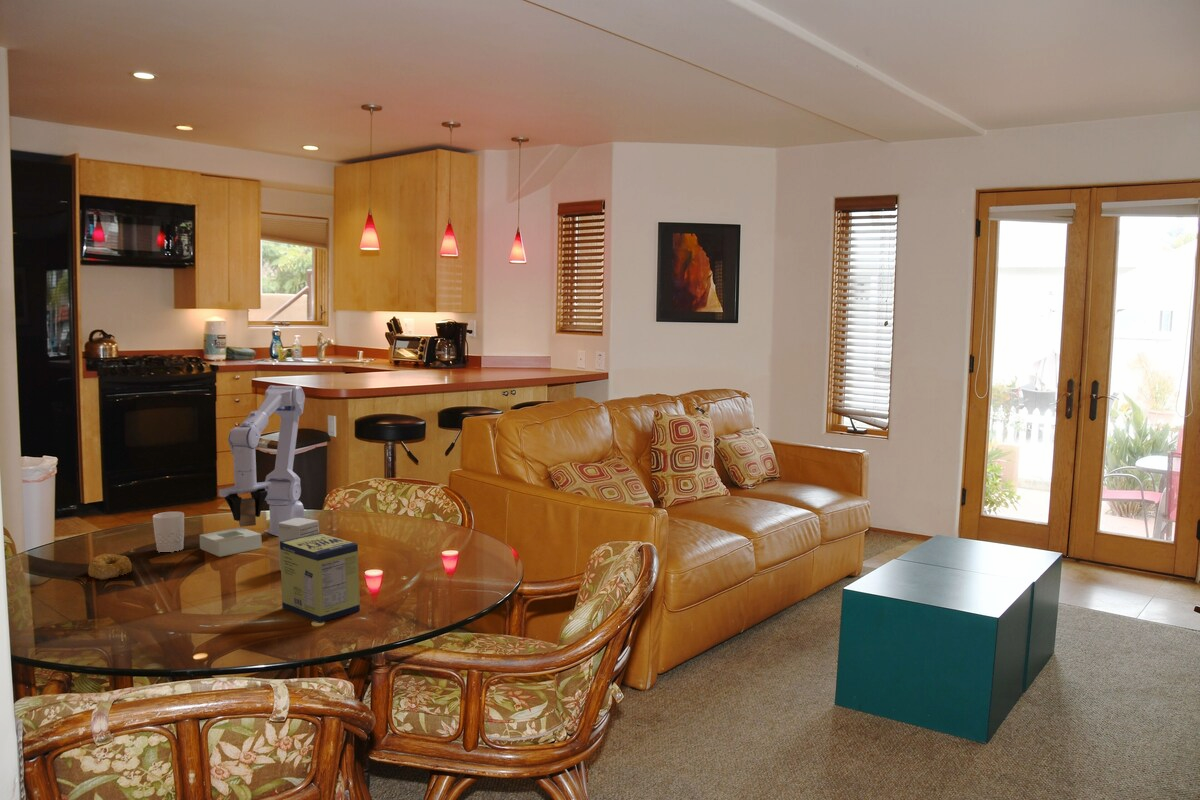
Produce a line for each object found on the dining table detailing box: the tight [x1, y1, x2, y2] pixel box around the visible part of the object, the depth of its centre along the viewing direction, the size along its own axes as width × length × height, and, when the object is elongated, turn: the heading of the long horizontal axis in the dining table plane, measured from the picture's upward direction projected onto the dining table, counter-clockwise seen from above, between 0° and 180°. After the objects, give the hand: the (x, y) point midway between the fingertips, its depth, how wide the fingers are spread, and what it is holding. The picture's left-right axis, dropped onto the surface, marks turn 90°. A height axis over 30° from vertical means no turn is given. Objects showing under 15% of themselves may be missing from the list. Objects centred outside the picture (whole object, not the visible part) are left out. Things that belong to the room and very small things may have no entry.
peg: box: [238, 497, 257, 528], centre depth 250 cm, size 4×4×7 cm
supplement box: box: [278, 517, 320, 571], centre depth 232 cm, size 7×7×13 cm
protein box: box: [280, 532, 361, 624], centre depth 201 cm, size 10×16×16 cm
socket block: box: [199, 526, 263, 558], centre depth 252 cm, size 12×12×4 cm
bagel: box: [87, 553, 133, 581], centre depth 228 cm, size 10×11×5 cm
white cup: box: [152, 511, 185, 553], centre depth 250 cm, size 8×8×10 cm
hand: (247, 518), depth 250 cm, fingers closed on peg, 5 cm apart
